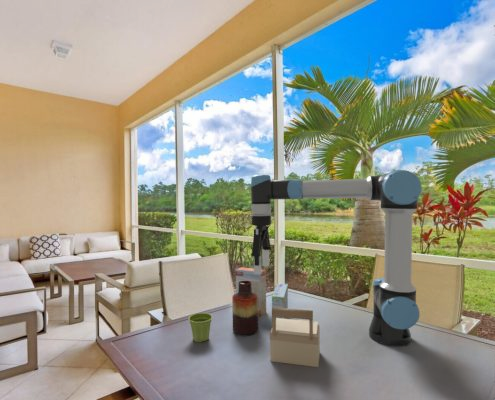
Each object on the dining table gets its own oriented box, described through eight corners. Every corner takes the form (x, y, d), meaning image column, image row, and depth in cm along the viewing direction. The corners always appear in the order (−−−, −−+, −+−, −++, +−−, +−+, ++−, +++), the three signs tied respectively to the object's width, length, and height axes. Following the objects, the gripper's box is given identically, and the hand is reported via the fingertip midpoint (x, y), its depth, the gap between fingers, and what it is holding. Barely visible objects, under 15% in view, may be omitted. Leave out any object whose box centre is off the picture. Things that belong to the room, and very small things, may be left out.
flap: (318, 324, 114) (317, 298, 114) (315, 342, 100) (315, 312, 100) (276, 320, 118) (276, 295, 118) (268, 337, 104) (268, 308, 104)
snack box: (284, 333, 130) (284, 297, 130) (271, 332, 131) (270, 296, 131) (288, 314, 151) (288, 283, 151) (276, 314, 152) (276, 282, 152)
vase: (262, 333, 131) (261, 283, 130) (237, 337, 127) (237, 286, 126) (252, 323, 141) (251, 277, 141) (229, 327, 137) (228, 280, 137)
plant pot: (206, 346, 120) (206, 323, 120) (184, 342, 123) (184, 320, 123) (216, 335, 129) (216, 314, 129) (196, 332, 132) (195, 311, 132)
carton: (319, 352, 114) (319, 324, 114) (318, 367, 104) (318, 337, 104) (275, 347, 118) (275, 320, 118) (270, 361, 108) (269, 332, 108)
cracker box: (266, 312, 154) (266, 269, 153) (260, 316, 149) (260, 272, 148) (242, 307, 161) (242, 266, 161) (235, 311, 156) (235, 268, 156)
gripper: (259, 213, 136) (260, 262, 136) (242, 217, 112) (243, 277, 112) (276, 213, 134) (277, 263, 134) (263, 217, 110) (264, 278, 110)
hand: (262, 269), depth 123 cm, fingers open, 13 cm apart
